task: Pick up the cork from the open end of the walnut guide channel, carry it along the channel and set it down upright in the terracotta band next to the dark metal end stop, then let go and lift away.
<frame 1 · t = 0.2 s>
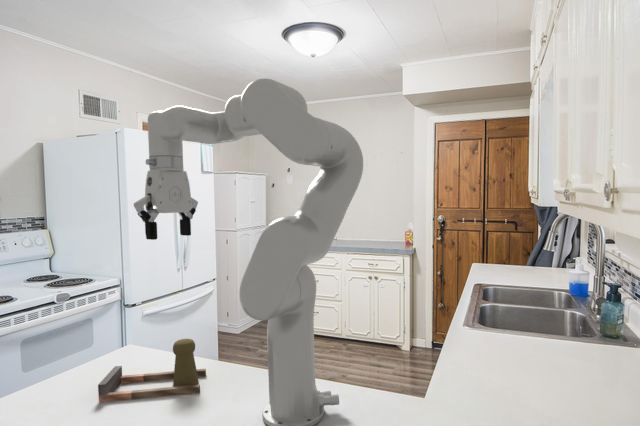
hand: (169, 237, 98), 36 cm above the countertop, tool pointing down, fingers open, 9 cm apart
guide channel: (155, 387, 99), on the countertop
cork: (185, 385, 100), on the countertop
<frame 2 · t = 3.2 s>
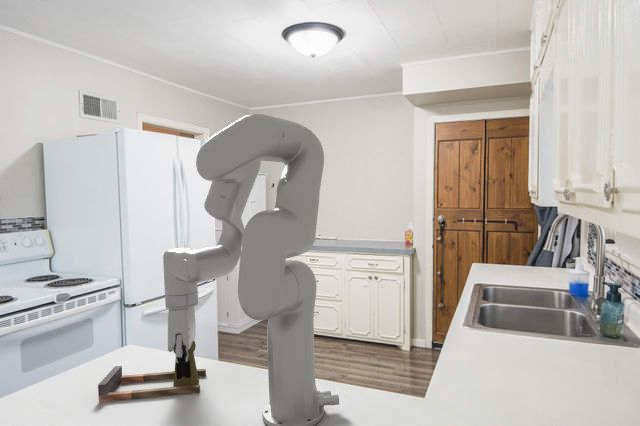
hand: (185, 373, 100), 3 cm above the countertop, tool pointing down, fingers closed on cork, 3 cm apart
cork: (186, 385, 101), on the countertop, touching gripper
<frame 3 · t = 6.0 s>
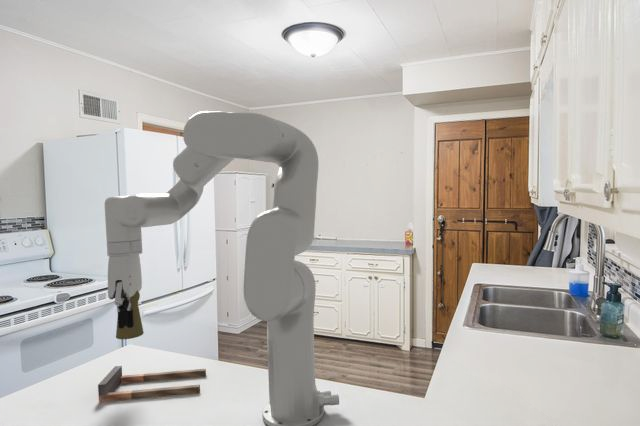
hand: (128, 324, 98), 16 cm above the countertop, tool pointing down, fingers closed on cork, 3 cm apart
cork: (130, 335, 99), point 13 cm above the countertop, touching gripper
when the fingers open (4 cm above the countertop, at t = 8.8 s): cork moves 1 cm, on the countertop.
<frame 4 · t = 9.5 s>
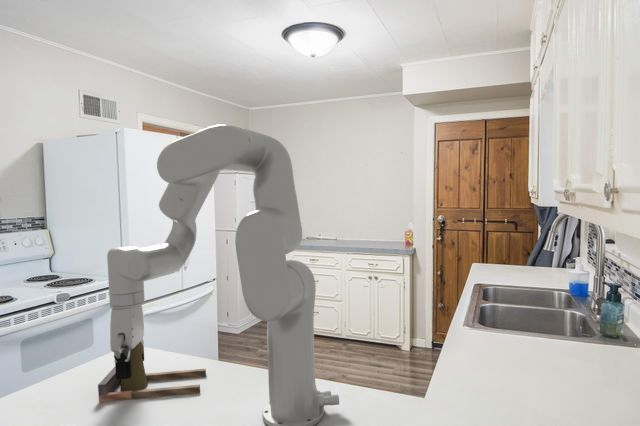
hand: (131, 369, 98), 5 cm above the countertop, tool pointing down, fingers open, 9 cm apart
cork: (134, 388, 100), on the countertop
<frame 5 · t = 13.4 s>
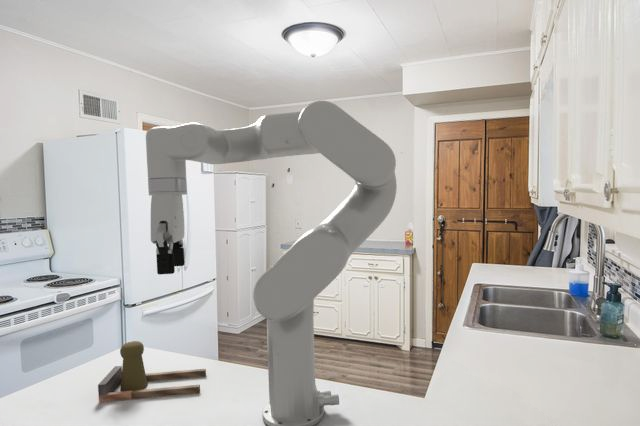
hand: (171, 269, 86), 30 cm above the countertop, tool pointing down, fingers open, 9 cm apart
nothing on the countertop moved.
at the end: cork 1.2 cm from the target spot on the guide channel, point 0.0 cm above the guide channel's base; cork tilted 0°; the gripper is holding nothing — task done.
